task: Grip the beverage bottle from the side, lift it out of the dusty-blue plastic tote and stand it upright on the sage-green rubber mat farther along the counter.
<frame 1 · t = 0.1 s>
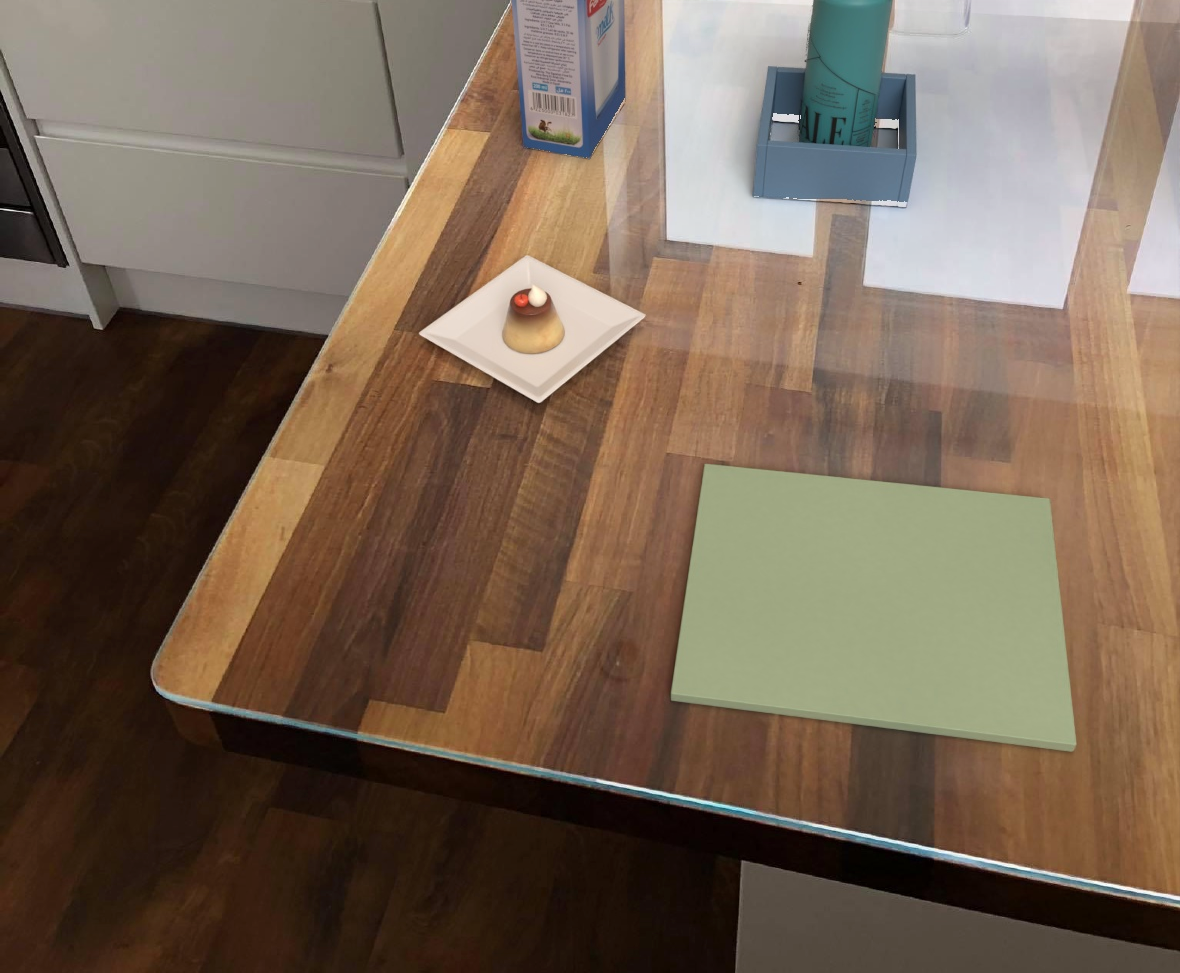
tote: (831, 160, 105), on the counter
mat: (870, 597, 74), on the counter
dessert: (533, 337, 91), on the counter
milk carton: (575, 127, 111), on the counter
beverage bottle: (831, 162, 106), resting in tote
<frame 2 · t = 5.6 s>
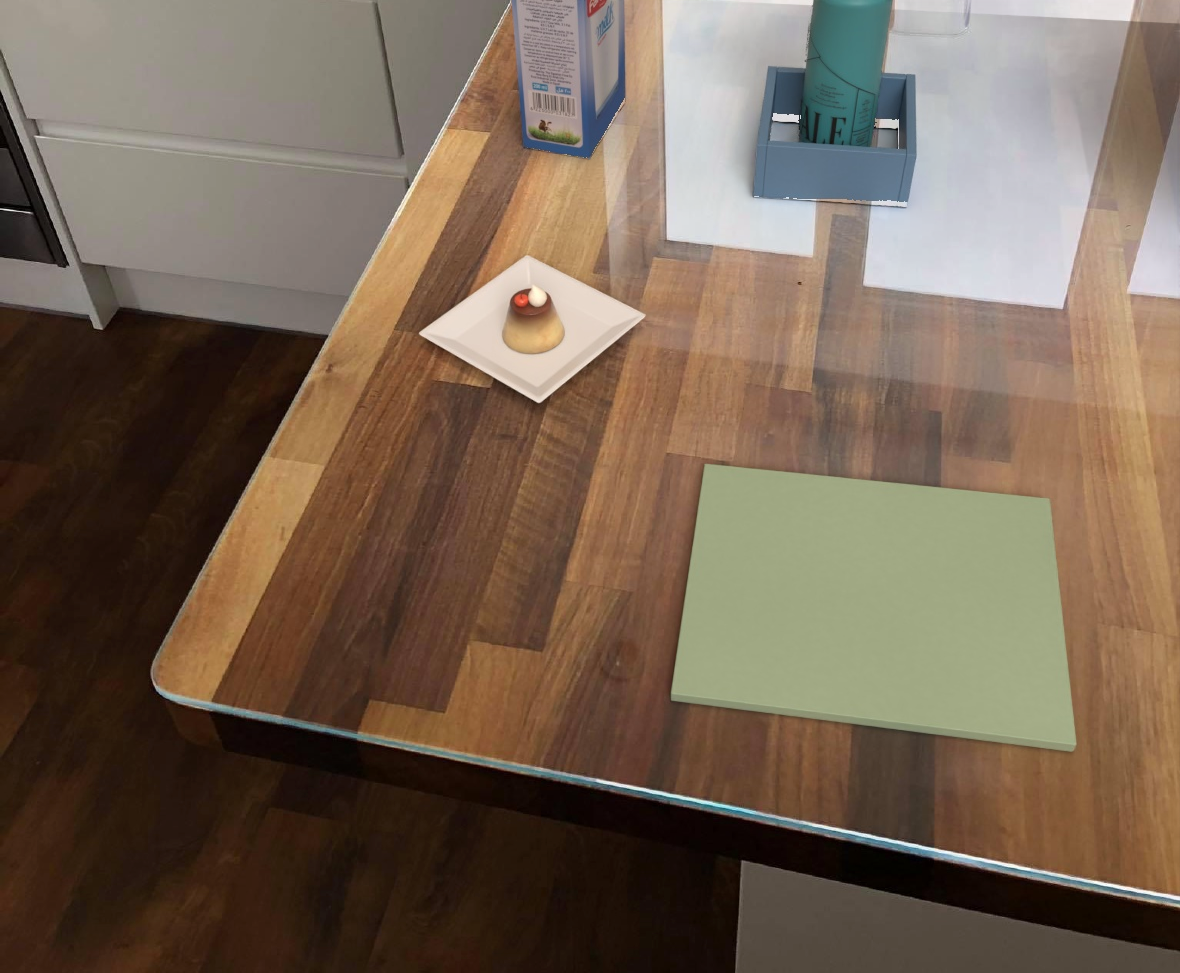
nothing on the counter moved.
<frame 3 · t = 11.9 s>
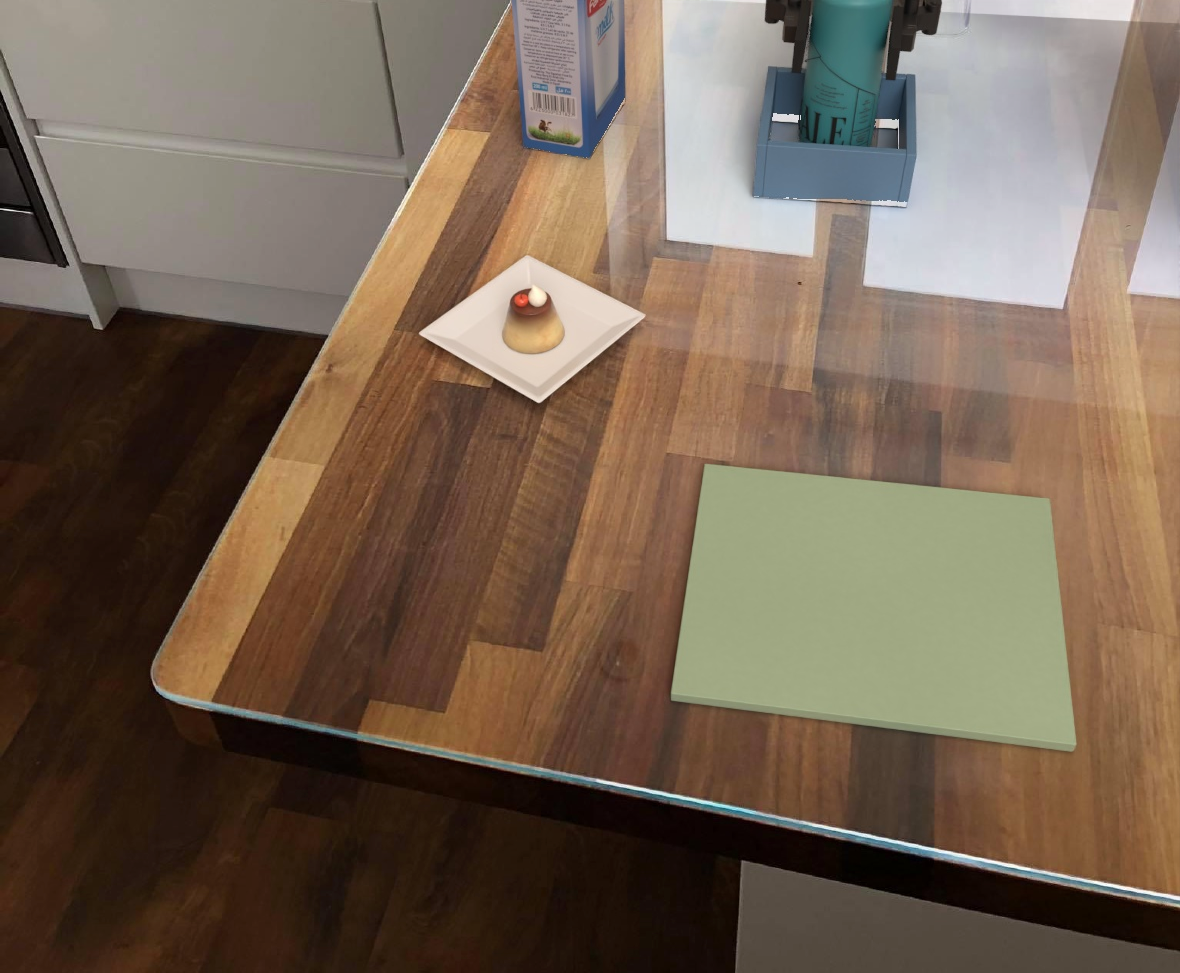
hand: (845, 60, 93), 12 cm above the counter, tool horizontal, fingers closed on beverage bottle, 6 cm apart
beverage bottle: (831, 162, 106), resting in tote, touching gripper
everything else where it was.
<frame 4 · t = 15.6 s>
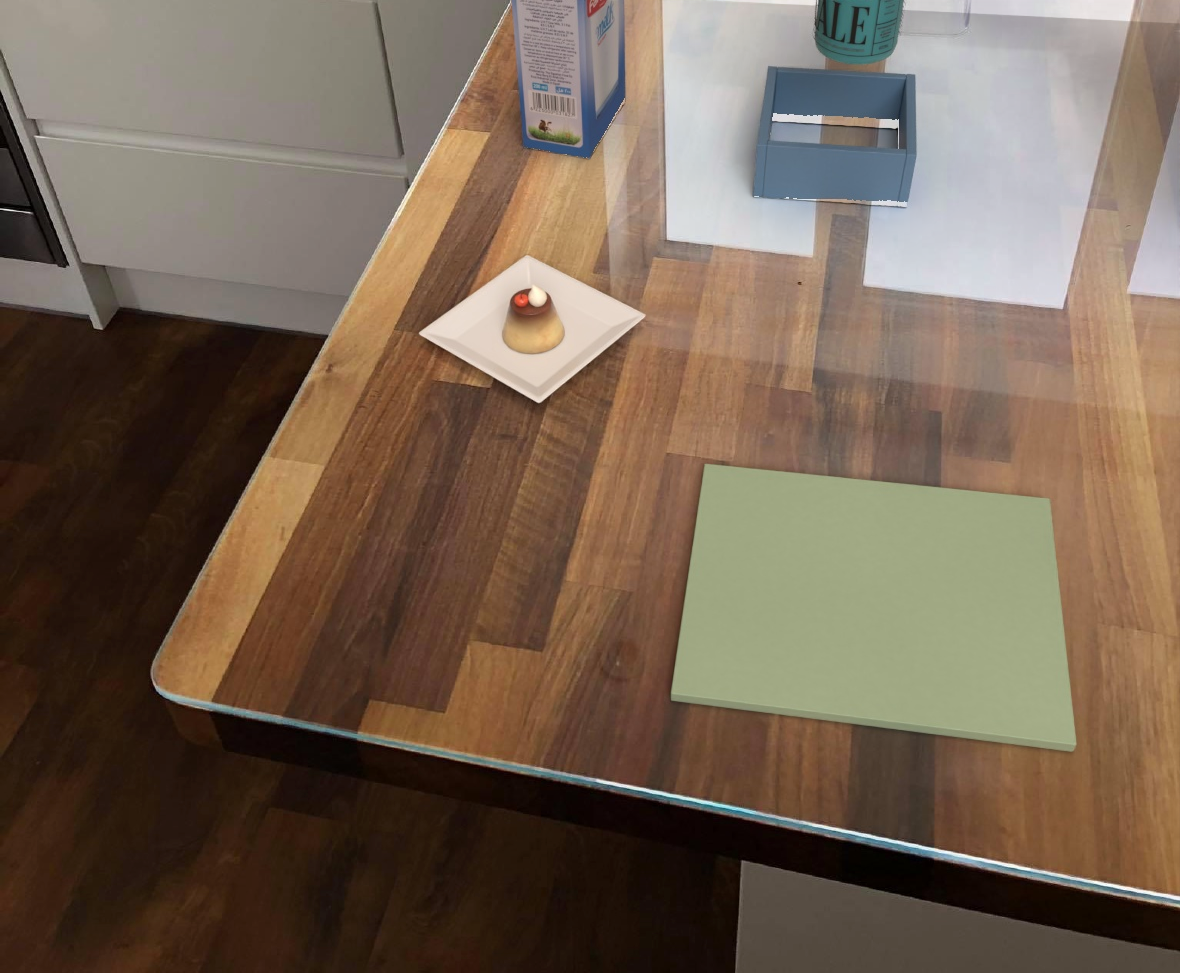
beverage bottle: (851, 65, 93), point 12 cm above the counter, touching gripper
everything else where it was.
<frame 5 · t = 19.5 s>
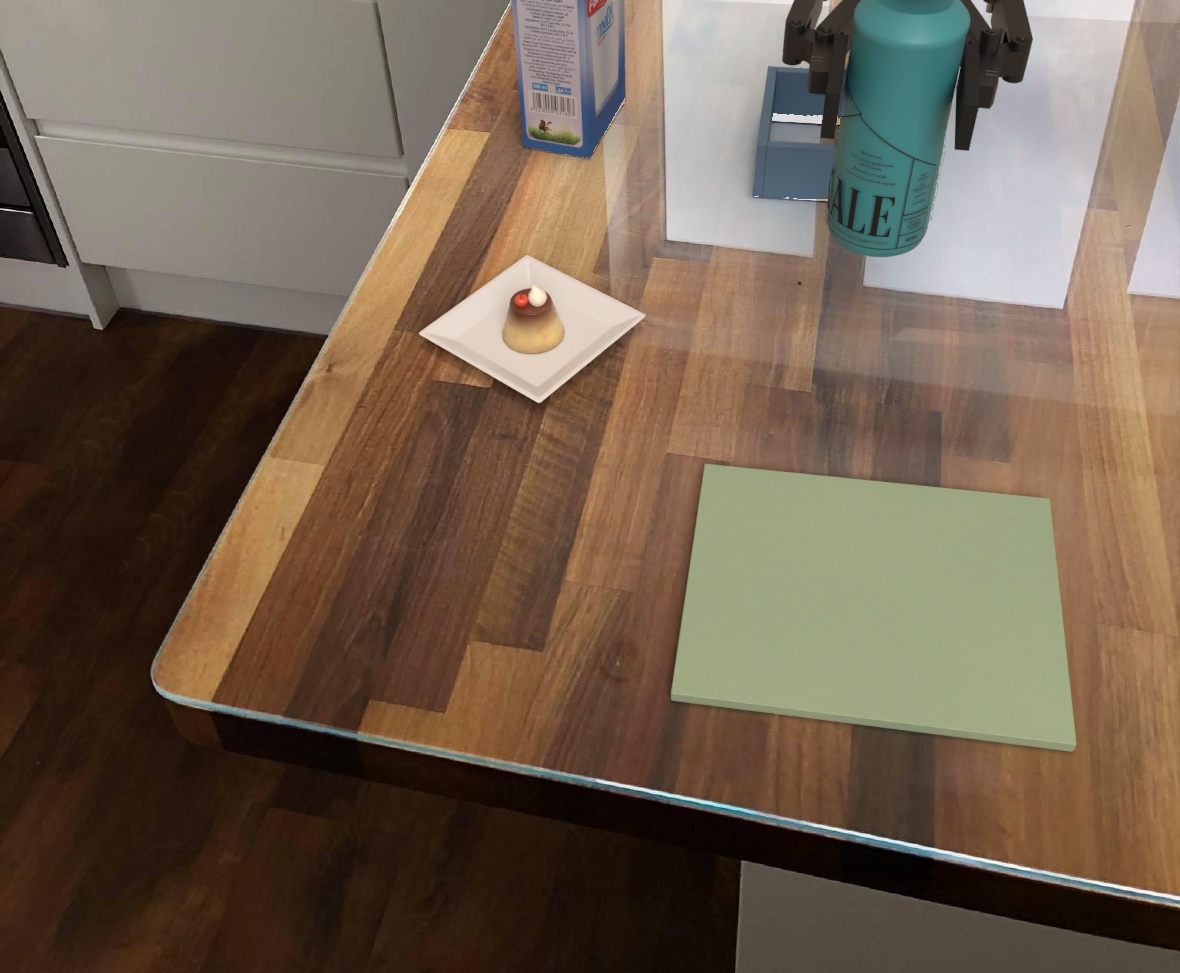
hand: (897, 121, 65), 24 cm above the counter, tool horizontal, fingers closed on beverage bottle, 6 cm apart
beverage bottle: (871, 251, 78), point 12 cm above the counter, touching gripper
everything else where it was.
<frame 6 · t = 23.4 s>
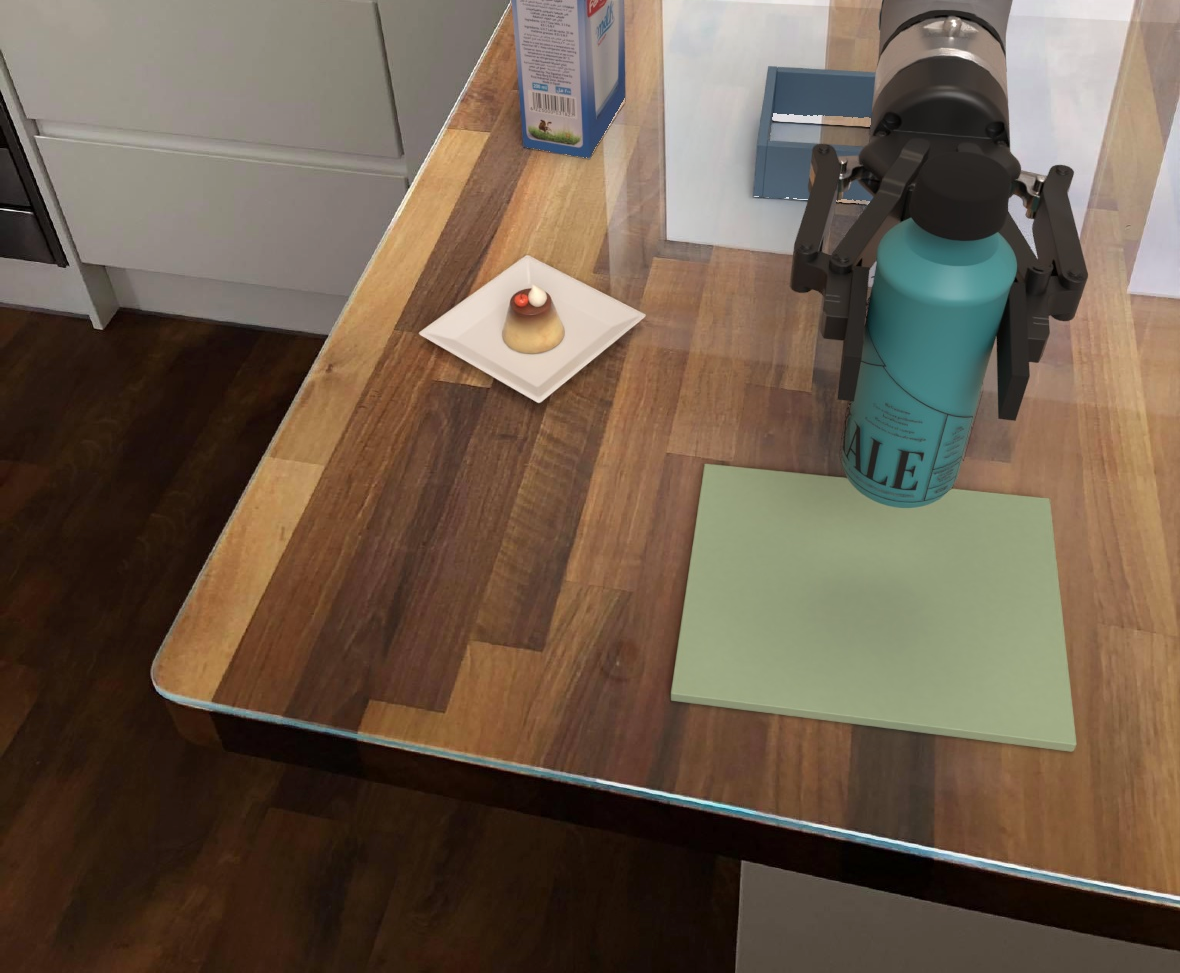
hand: (930, 387, 54), 22 cm above the counter, tool horizontal, fingers closed on beverage bottle, 6 cm apart
beverage bottle: (893, 488, 67), point 10 cm above the counter, touching gripper
everything else where it was.
when the fingers open (13 cm above the counter, at t = 26.9 s): beverage bottle stays where it is, resting on mat.
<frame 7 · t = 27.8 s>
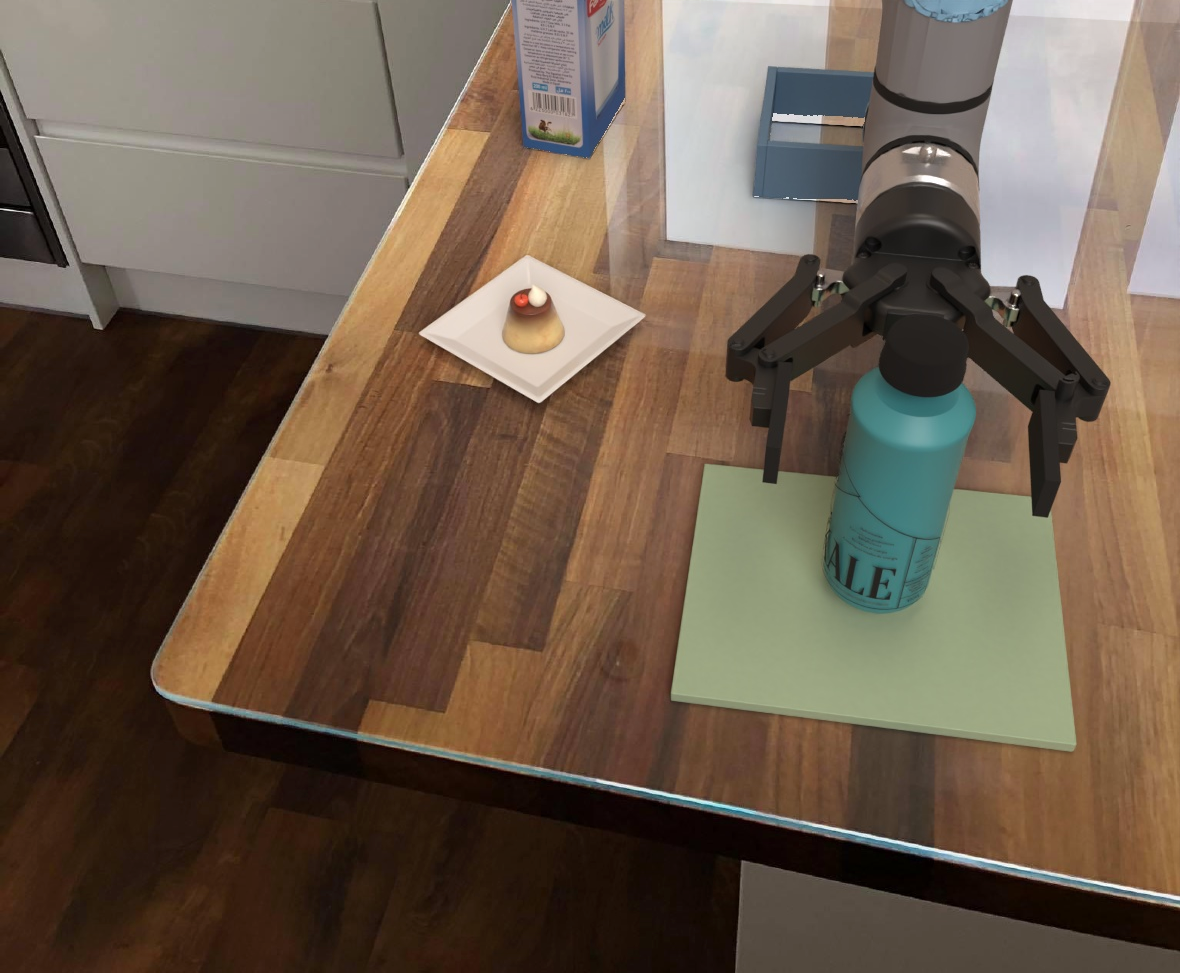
hand: (906, 482, 62), 14 cm above the counter, tool horizontal, fingers open, 13 cm apart
beverage bottle: (870, 591, 73), point 1 cm above the counter, touching mat
everything else where it was.
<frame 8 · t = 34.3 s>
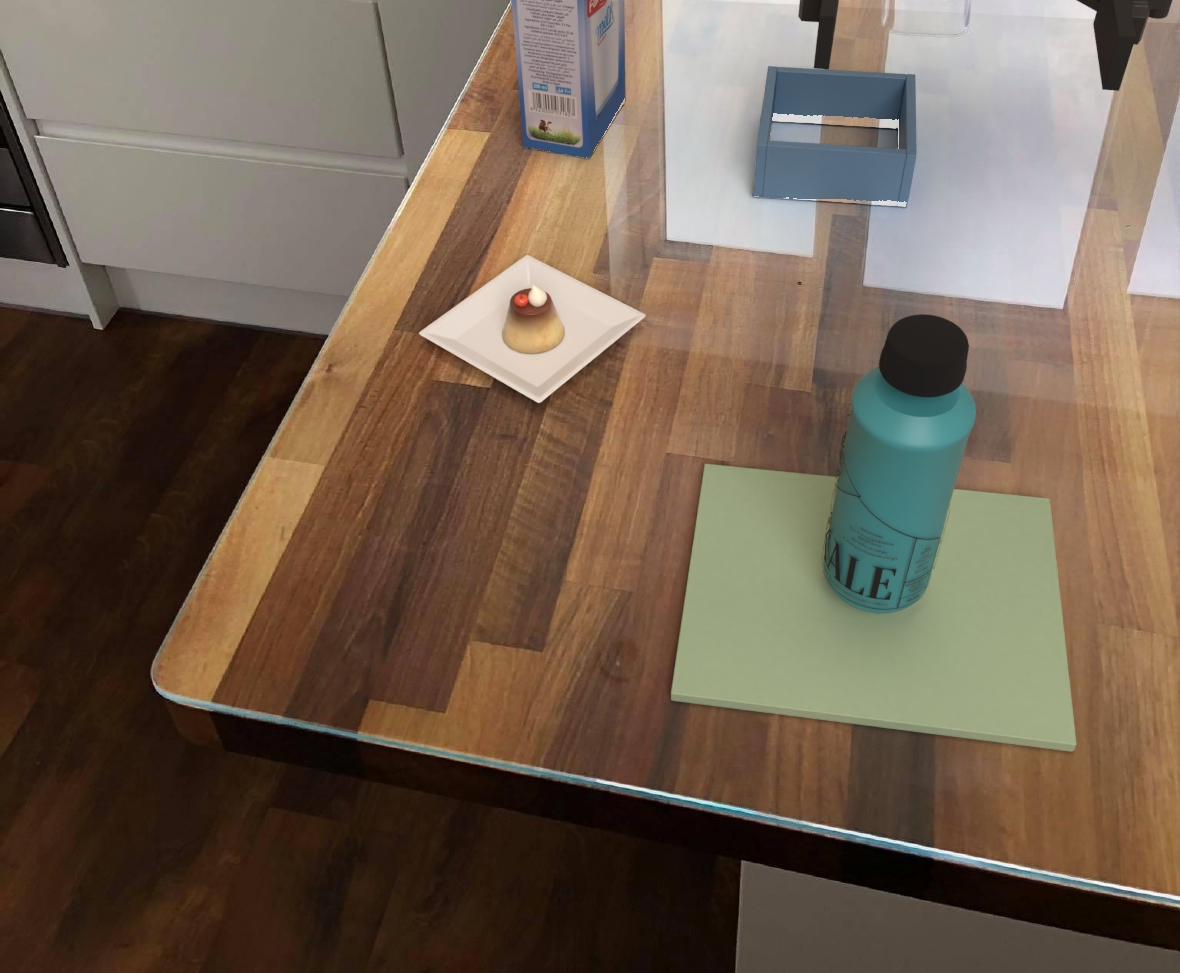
hand: (968, 53, 58), 30 cm above the counter, tool horizontal, fingers open, 13 cm apart
nothing on the counter moved.
at the end: beverage bottle inside the target area on the mat (0.0 cm from its centre), point 0.6 cm above the mat's base; beverage bottle tilted 0°; the gripper is holding nothing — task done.
